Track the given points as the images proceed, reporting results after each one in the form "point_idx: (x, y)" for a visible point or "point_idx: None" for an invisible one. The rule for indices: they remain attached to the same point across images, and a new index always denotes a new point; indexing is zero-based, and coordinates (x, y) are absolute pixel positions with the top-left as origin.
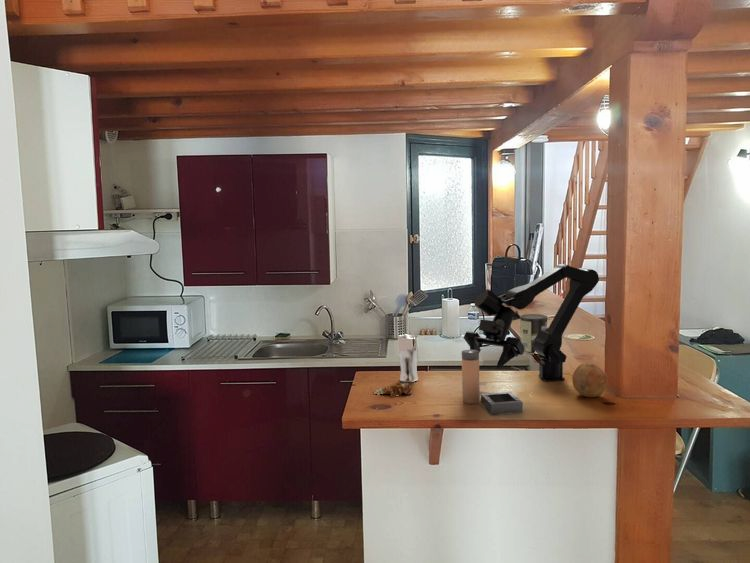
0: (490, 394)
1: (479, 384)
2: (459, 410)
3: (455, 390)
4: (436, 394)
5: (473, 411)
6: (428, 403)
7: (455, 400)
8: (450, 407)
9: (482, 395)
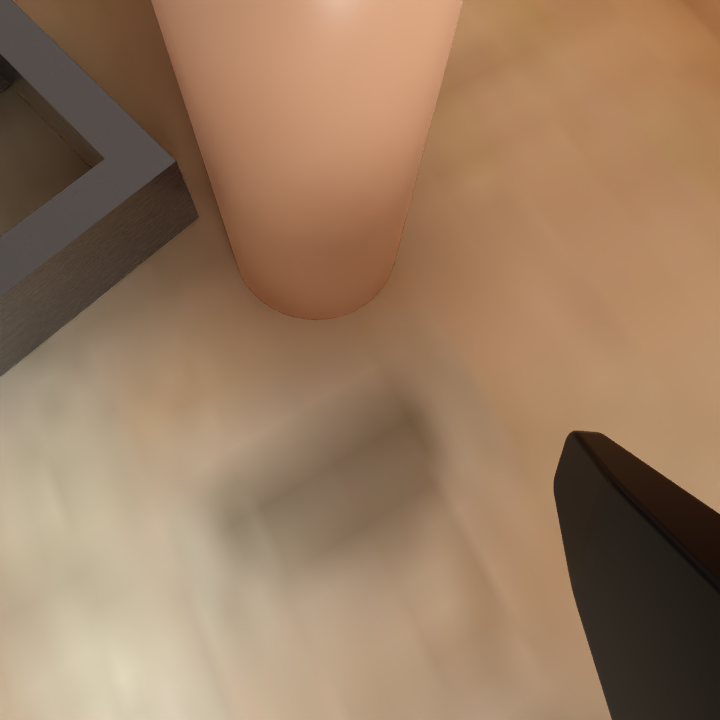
0: (73, 193)
1: (213, 187)
2: None
3: None
4: (687, 247)
5: None
6: (596, 35)
7: (449, 192)
8: None
9: (142, 128)
